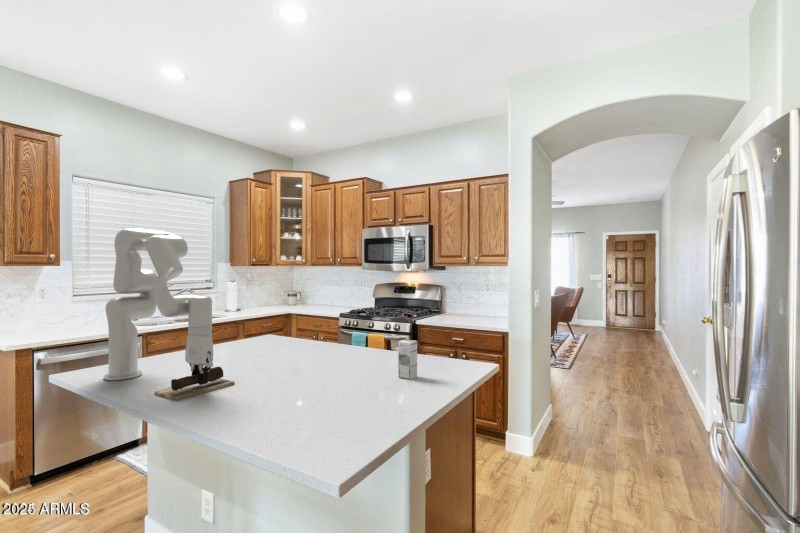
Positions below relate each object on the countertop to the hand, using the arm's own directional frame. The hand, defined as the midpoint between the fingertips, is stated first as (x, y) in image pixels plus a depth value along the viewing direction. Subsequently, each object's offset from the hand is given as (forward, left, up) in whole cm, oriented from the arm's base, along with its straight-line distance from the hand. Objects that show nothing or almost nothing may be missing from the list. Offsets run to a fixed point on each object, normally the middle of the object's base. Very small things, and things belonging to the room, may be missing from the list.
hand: (199, 382), depth 144 cm
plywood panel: (-2, 0, -3) cm, 4 cm away
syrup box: (+54, +53, -3) cm, 76 cm away
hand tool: (-1, 0, -1) cm, 1 cm away
